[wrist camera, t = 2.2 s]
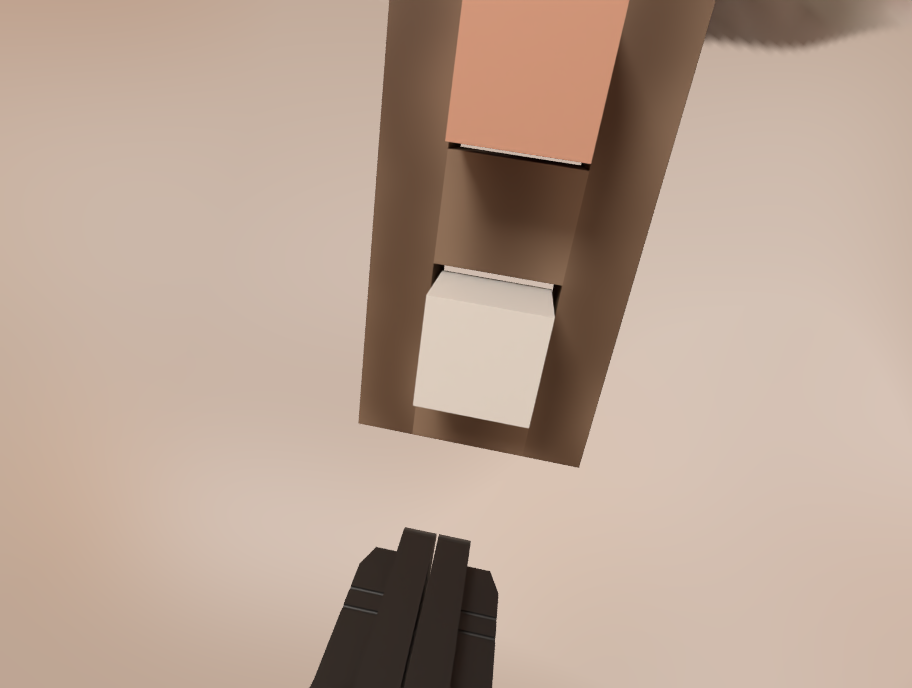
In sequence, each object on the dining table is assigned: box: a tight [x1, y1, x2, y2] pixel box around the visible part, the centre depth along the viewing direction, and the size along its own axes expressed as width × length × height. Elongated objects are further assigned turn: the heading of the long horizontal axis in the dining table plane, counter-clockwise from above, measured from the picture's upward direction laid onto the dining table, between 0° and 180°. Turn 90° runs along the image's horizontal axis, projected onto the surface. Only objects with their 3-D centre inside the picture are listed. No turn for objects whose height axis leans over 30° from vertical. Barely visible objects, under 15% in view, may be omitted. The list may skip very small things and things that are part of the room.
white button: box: [413, 270, 555, 428], centre depth 23 cm, size 5×5×4 cm
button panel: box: [359, 0, 716, 467], centre depth 24 cm, size 12×24×4 cm, turn 172°
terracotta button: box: [445, 0, 629, 164], centre depth 19 cm, size 5×5×4 cm
